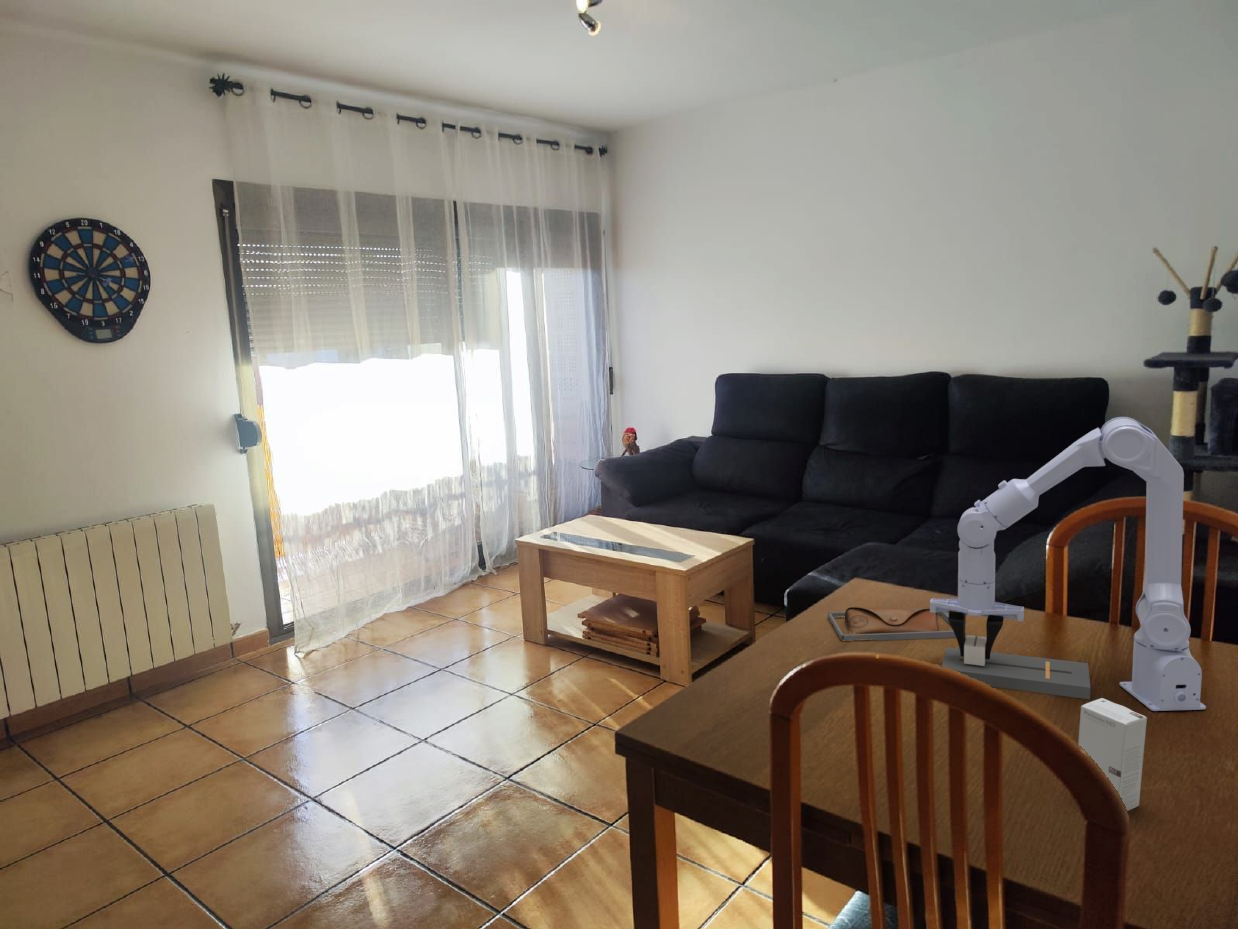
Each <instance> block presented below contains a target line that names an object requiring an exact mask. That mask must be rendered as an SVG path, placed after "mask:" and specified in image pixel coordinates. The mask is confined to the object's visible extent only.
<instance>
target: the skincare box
mask: <svg viewBox="0 0 1238 929" xmlns="http://www.w3.org/2000/svg"><path fill="white" fill-rule="evenodd" d="M1147 721H1148V717H1147V716H1145V715H1143V714H1141V713H1138V712H1135V711H1133V710H1132V709H1130V708H1128V707H1126V706H1124V705H1121V704H1118V703H1115V702H1113V701H1111V700H1108V699H1106V698H1103V697H1101V698H1098V699H1094V700H1092V701H1089V702H1087V703H1085V704H1083V705H1081V706H1080V718H1079V727H1078V728H1079V730H1078V744H1077V745H1079V746H1081V747H1082V748H1083V749H1085V751H1086V752H1087V753H1088V755H1089V756H1091V758H1092V759H1093V760H1094V761H1095V763H1097V764H1098V766H1099V767H1100V768H1101V769H1102V771H1103V772H1104V773H1105V775H1106V777H1108V778H1109V780H1110V781H1111V783H1112V784H1113V786H1114V787H1115V789H1116V790H1117V791H1118V793H1119V795H1120V797H1121V798H1122V801H1123V803H1124V804H1125V806H1126V809H1127V811H1126V812H1129V811H1131V810H1133V809H1135V808H1137V807H1139V805H1140V797H1141V785H1142V774H1143V765H1144V752H1145V741H1146V731H1147Z"/></svg>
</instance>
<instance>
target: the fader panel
mask: <svg viewBox="0 0 1238 929" xmlns="http://www.w3.org/2000/svg"><path fill="white" fill-rule="evenodd" d="M942 666H943V667H948V668H950V669H952V670H955V671H958V672H960V673H962V674H965V675H968V676H969V677H971V678H975V679H977V680H979V681H982V682H985V683H986V684H989V685H991V686H992V687H991V688H999V689H1006V690H1007V689H1008V690H1015V691H1021V692H1029V693H1036V694H1037V693H1038V694H1043V695H1044V694H1045V695H1051V696H1059V697H1060V696H1061V697H1066V698H1067V697H1068V698H1074V699H1081V700H1083V699H1084V700H1089V701H1090V700H1091V691H1092V690H1091V678H1090V669H1089V663H1088V662H1081V661H1080V662H1079V661H1072V660H1071V661H1070V660H1064V659H1063V660H1062V659H1056V658H1055V659H1054V658H1047V657H1037V656H1028V655H1020V654H1011V653H1003V652H1002V653H1000V652H992V651H991V653H990V659H989V660H988V659H986V661H985V666H980V665H972V664H964V657H963V656H961V654H960V648H959V647H949V646H946V650H945V654H944V656H943V659H942V664H941V667H942Z"/></svg>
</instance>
